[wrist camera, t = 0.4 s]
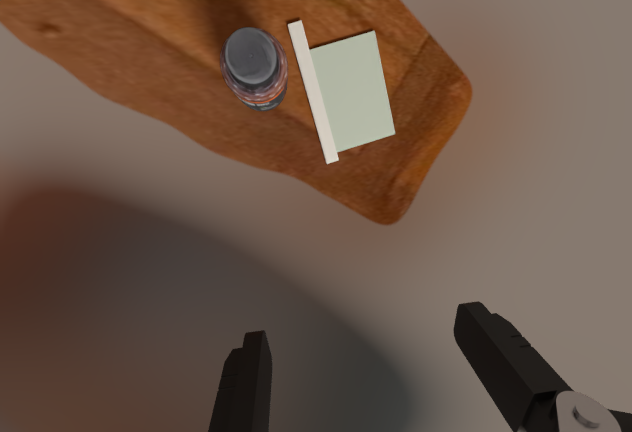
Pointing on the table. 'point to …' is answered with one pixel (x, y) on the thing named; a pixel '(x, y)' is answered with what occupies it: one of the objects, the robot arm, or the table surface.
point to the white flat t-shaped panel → (344, 90)
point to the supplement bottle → (255, 68)
